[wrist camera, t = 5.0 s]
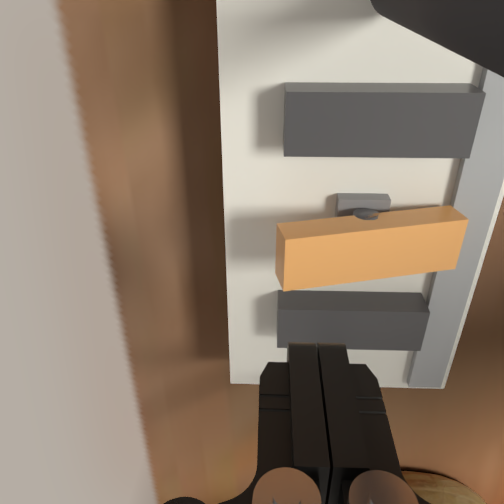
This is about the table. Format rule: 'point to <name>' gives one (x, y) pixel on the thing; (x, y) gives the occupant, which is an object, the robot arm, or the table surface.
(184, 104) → the table surface
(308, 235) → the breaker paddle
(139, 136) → the table surface
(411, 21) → the dark grey peg
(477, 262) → the breaker board
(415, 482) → the ceramic vessel
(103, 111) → the table surface
